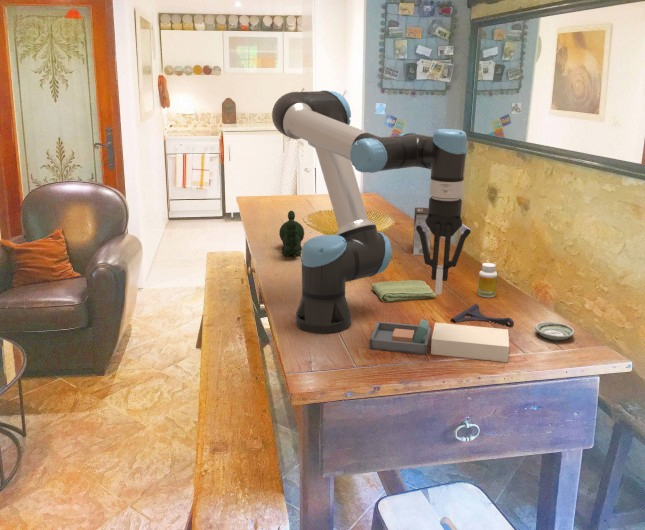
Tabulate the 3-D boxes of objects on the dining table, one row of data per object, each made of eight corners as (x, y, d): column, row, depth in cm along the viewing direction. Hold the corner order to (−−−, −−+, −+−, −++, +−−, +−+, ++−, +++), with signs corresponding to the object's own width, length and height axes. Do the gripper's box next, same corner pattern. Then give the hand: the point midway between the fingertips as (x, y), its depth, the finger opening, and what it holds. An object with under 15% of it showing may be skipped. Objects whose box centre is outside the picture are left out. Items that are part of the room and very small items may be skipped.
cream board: (430, 354, 154) (431, 338, 152) (434, 336, 163) (435, 322, 162) (507, 362, 149) (509, 346, 148) (506, 344, 159) (508, 329, 158)
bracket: (501, 337, 165) (502, 327, 164) (449, 323, 174) (450, 314, 173) (522, 321, 176) (523, 312, 175) (473, 309, 185) (474, 300, 184)
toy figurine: (305, 266, 227) (304, 241, 250) (304, 215, 220) (303, 195, 243) (278, 266, 227) (280, 242, 250) (277, 216, 220) (279, 195, 243)
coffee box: (412, 248, 244) (414, 207, 239) (429, 248, 243) (431, 207, 238) (412, 254, 236) (414, 212, 231) (430, 255, 235) (432, 212, 230)
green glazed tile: (419, 346, 157) (412, 343, 157) (421, 338, 161) (414, 335, 162) (427, 329, 155) (419, 326, 155) (429, 321, 160) (421, 318, 160)
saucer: (552, 347, 158) (553, 338, 157) (526, 333, 167) (527, 324, 166) (581, 341, 162) (583, 332, 161) (554, 327, 170) (555, 319, 170)
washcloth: (438, 300, 191) (438, 290, 190) (381, 304, 187) (382, 294, 186) (422, 286, 203) (423, 276, 202) (369, 290, 199) (369, 280, 198)
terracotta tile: (412, 338, 157) (412, 345, 157) (414, 330, 161) (414, 337, 162) (392, 336, 158) (391, 343, 158) (394, 328, 162) (394, 335, 163)
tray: (369, 348, 156) (369, 339, 156) (377, 330, 168) (377, 321, 167) (426, 354, 153) (426, 345, 152) (430, 335, 164) (431, 326, 164)
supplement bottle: (496, 298, 191) (498, 267, 188) (477, 297, 192) (480, 266, 189) (495, 292, 196) (497, 262, 193) (477, 291, 197) (479, 261, 194)
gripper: (415, 198, 145) (409, 295, 153) (474, 202, 142) (465, 300, 150) (419, 192, 152) (413, 284, 159) (474, 196, 149) (466, 290, 157)
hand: (438, 292), depth 155 cm, fingers closed
